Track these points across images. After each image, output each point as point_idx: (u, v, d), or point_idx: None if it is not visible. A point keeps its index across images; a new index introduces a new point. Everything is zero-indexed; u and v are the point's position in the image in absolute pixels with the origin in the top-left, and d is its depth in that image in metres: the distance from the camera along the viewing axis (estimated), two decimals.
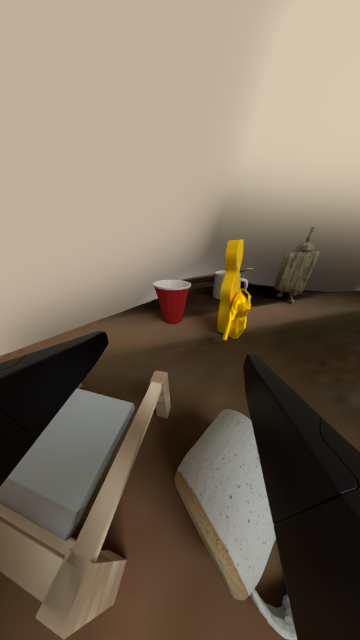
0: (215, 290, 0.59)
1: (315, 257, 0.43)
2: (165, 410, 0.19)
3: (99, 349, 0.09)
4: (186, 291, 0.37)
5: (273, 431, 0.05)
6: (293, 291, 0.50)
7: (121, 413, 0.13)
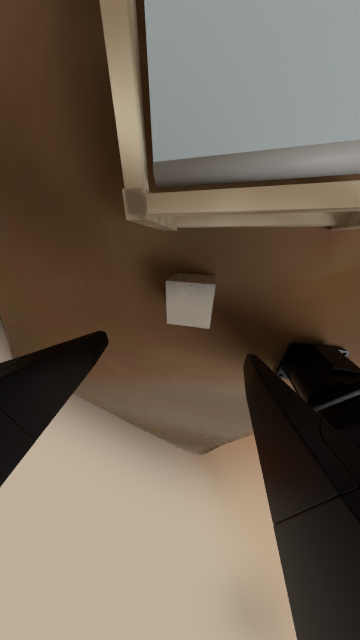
0: None
1: None
2: None
3: (99, 349, 0.09)
4: None
5: (273, 431, 0.05)
6: None
7: None
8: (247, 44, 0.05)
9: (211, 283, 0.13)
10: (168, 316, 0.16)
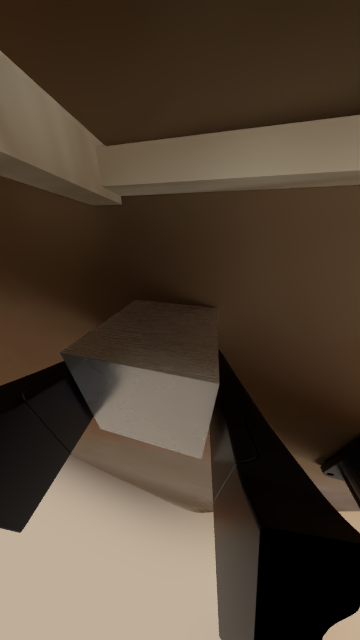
0: None
1: None
2: None
3: None
4: None
5: (216, 417, 0.05)
6: None
7: None
8: None
9: (204, 371, 0.04)
10: (99, 419, 0.06)
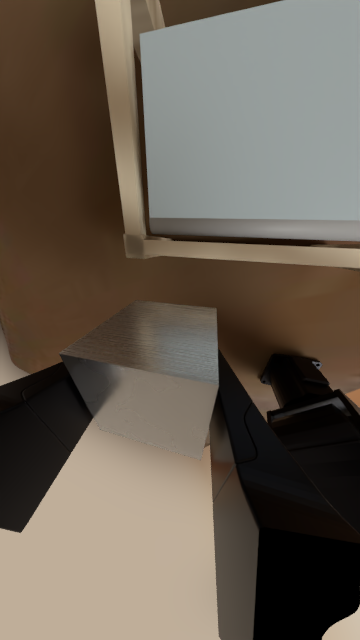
0: None
1: None
2: None
3: None
4: None
5: (216, 417, 0.05)
6: None
7: None
8: (222, 148, 0.07)
9: (204, 372, 0.04)
10: (98, 420, 0.06)
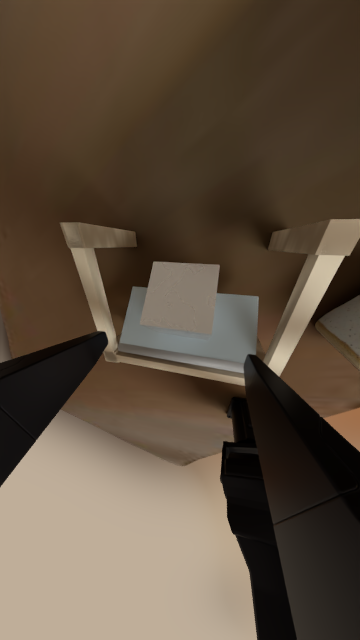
0: None
1: None
2: None
3: (99, 349, 0.09)
4: None
5: (273, 431, 0.05)
6: None
7: (251, 306, 0.14)
8: None
9: None
10: (145, 311, 0.10)
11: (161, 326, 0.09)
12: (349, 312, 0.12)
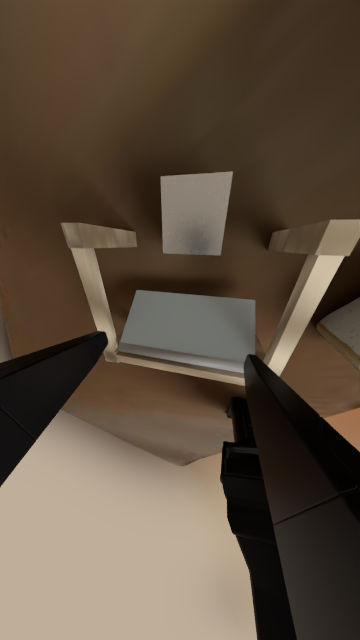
0: None
1: None
2: None
3: (99, 349, 0.09)
4: None
5: (273, 431, 0.05)
6: None
7: (249, 308, 0.14)
8: (163, 321, 0.15)
9: None
10: None
11: None
12: (351, 314, 0.13)
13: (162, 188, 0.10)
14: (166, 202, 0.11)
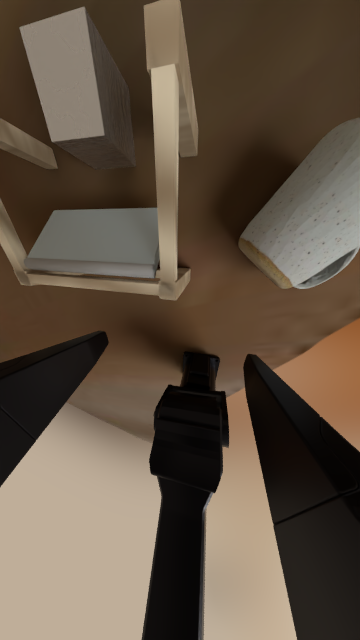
0: None
1: None
2: (192, 141, 0.12)
3: (99, 349, 0.09)
4: None
5: (273, 431, 0.05)
6: None
7: None
8: (72, 235, 0.14)
9: (131, 165, 0.15)
10: None
11: None
12: (258, 213, 0.12)
13: (25, 45, 0.09)
14: (35, 65, 0.10)
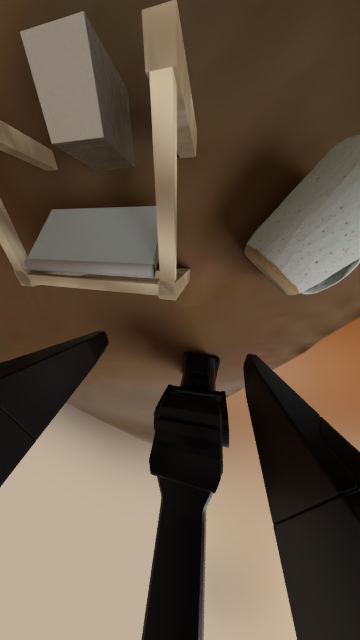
0: None
1: None
2: (191, 142, 0.12)
3: (99, 349, 0.09)
4: None
5: (273, 431, 0.05)
6: None
7: None
8: (71, 235, 0.14)
9: (130, 166, 0.15)
10: None
11: None
12: None
13: (26, 49, 0.09)
14: (35, 69, 0.10)
